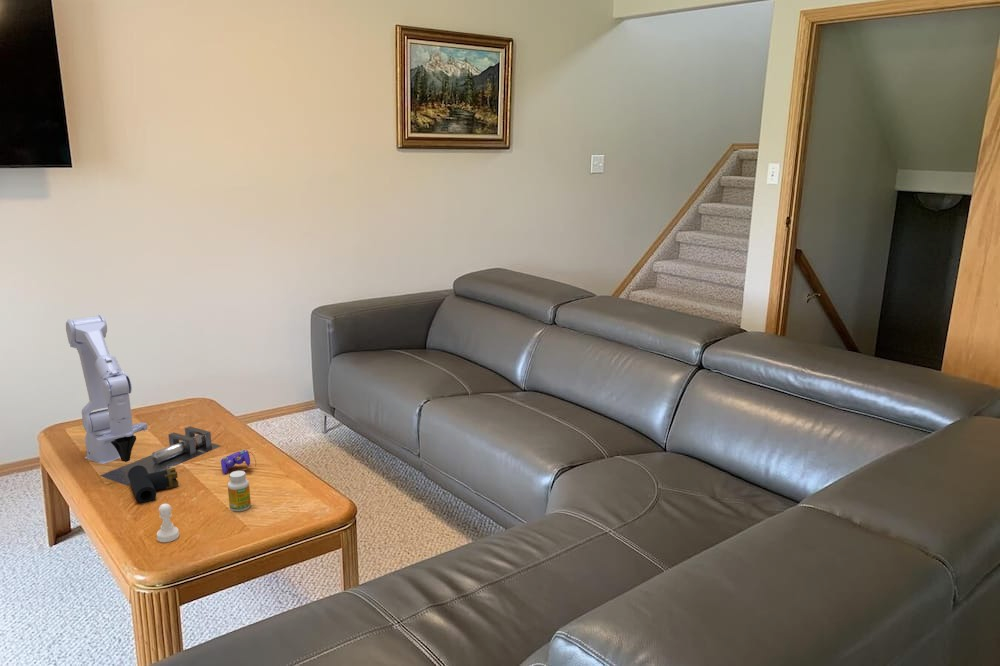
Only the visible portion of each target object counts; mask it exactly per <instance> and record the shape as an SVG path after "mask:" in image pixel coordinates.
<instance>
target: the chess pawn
mask: <svg viewBox="0 0 1000 666" xmlns="http://www.w3.org/2000/svg"><path fill="white" fill-rule="evenodd" d="M171 511H172V505H170V504H169V503H162V504H160V506H159V507H158V513H159V515H158V516H159V519H162V524H161V525H160V527H159V528H160V529H158V531H157V532H156V540H157V541H158V542H159V543H169V542H174V541H175V540H177V539H178V538H179V537H180V532H179V531H180V530H179V528H178V527H177V526H174V523H173V522H172V521H171V519H170V518H171V517H172V516H173V512H172V513H171Z"/></svg>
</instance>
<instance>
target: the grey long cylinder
mask: <svg viewBox="0 0 1000 666" xmlns="http://www.w3.org/2000/svg"><path fill="white" fill-rule="evenodd" d="M192 438H195V448H197V447H200V446H202V439H201V435H199V434H196V435H195V436H194V437H192ZM185 452H186V447H185V441H181V440H180V441H179V443H176V444H174V445H171V446H170V445H168V446H166V447H163V448H161V449H158V450H156V451H154V452H152V453H151V455H152V459H153V461H154V462H155V463H156V464H158V463H160V462H163V461H165V460H168V459H170V458H173V457H175V456H177V455H180V454H182V453H185Z"/></svg>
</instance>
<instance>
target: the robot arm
mask: <svg viewBox="0 0 1000 666" xmlns="http://www.w3.org/2000/svg"><path fill="white" fill-rule="evenodd" d="M65 332H66V335H67V341H68V344H69V346H70V348H73V349H76V350H77V353H78V356H79V360H80V365H81V367H82V368H81V369H82V373H83V376H84V377H83V378H84V383H85V387H86V390H87V395H88V401H89V402H88V403H86V405H85V406H84V407H83V408H82V409H81V416H82V418H81V419H82V420H81V422H82V427H83V430H84V431H85V433H86V434H85V437H84V441H85V448H86V454H87V456H85V457H84V459H87V460H90V461H92V462H95V463H98V464H101V465H106V464H107V463H110V462H112V461H113V462H114V461H115V460H118V459H120V460H121V462H124V463H126V462H129V461H130V460H131V455H132V451H133V447H134V445H135V443H136V441H137V436H136V435H134V434H137V433H139V432H141V431H147V430H148V423H146V422H140V423H136V424H133V417H132V409H131V401H130V394H132V391H133V390H132V389H133V388H132V382H131V378H130V377H129V375H128V374H127V373H126V372H125V371H123V370H122V369H121V366H120V364H119V363H118V360H117V357H116V356H115V355H111V354H110V353H109V352H110V351H109V349H108V346H107V343H106V339H105V338H106V337H107V333H108V324H107V321H106V319H105V317H104V316H103V315H96V316H87V317H81V318H73V319H67V321H66V322H65ZM105 408H106V409H105ZM100 409H102V410H100Z"/></svg>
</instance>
